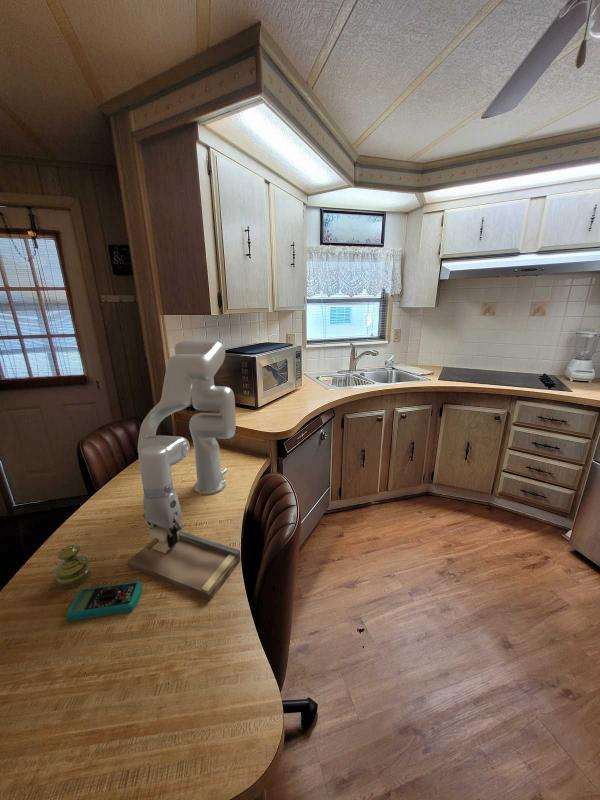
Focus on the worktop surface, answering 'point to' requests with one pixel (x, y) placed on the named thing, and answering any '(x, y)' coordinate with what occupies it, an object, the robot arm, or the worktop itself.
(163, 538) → the block with top hole
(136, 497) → the worktop surface
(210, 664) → the worktop surface
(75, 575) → the brass pawn finial
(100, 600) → the digital multimeter
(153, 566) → the board
